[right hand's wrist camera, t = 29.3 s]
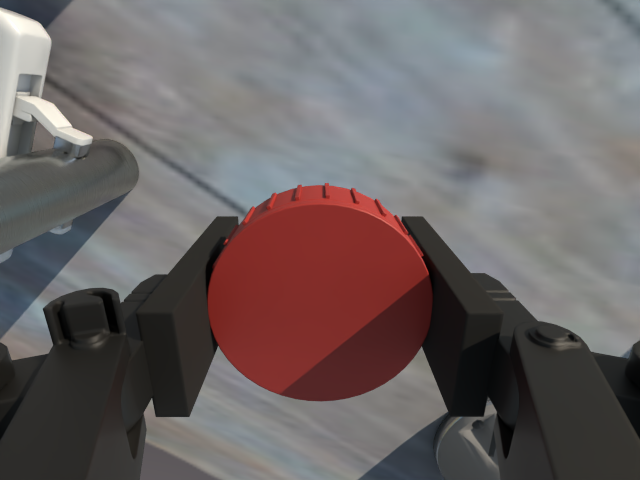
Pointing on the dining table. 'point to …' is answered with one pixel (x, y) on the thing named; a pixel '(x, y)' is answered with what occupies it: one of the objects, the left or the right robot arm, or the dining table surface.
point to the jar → (59, 188)
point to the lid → (320, 294)
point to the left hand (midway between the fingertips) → (77, 187)
